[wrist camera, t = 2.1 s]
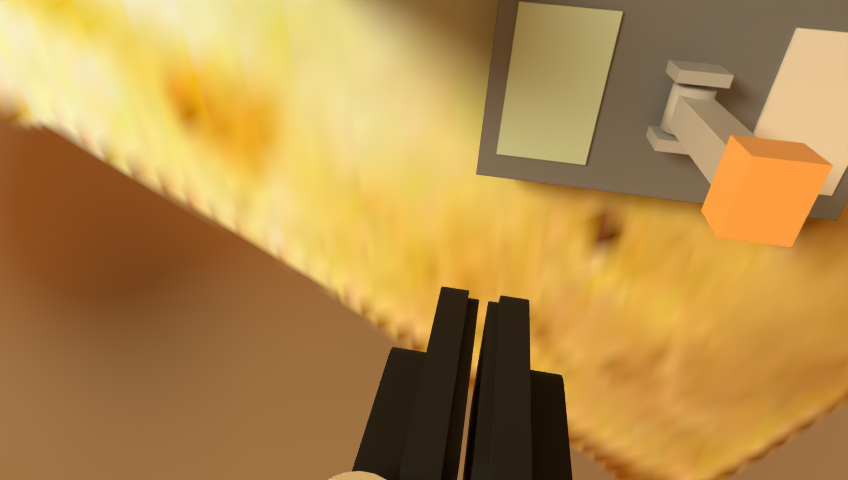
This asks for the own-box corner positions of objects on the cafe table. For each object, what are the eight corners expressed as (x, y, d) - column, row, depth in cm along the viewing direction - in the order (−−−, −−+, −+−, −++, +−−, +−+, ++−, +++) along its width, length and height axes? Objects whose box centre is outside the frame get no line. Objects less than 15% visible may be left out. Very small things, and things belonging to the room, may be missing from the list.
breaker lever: (667, 71, 26) (751, 155, 16) (717, 76, 26) (833, 165, 16) (649, 128, 28) (717, 237, 18) (696, 134, 28) (791, 247, 18)
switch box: (505, -39, 29) (501, -32, 23) (899, -5, 27) (991, 11, 21) (480, 150, 34) (473, 190, 29) (803, 190, 32) (857, 241, 27)
